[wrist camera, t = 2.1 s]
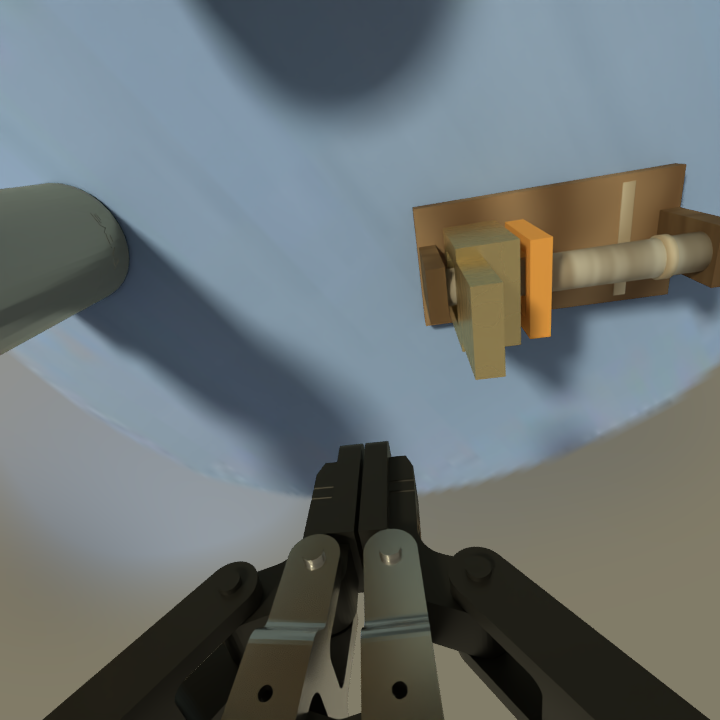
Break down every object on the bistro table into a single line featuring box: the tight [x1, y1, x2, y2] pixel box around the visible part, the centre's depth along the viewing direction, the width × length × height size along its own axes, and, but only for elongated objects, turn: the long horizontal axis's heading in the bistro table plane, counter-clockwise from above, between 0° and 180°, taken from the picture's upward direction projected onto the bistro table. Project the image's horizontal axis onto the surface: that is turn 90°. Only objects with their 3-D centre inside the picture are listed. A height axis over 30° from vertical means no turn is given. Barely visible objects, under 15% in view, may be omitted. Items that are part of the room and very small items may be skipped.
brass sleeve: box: [443, 220, 521, 380], centre depth 26 cm, size 4×6×11 cm, turn 10°
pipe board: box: [413, 163, 720, 326], centre depth 30 cm, size 18×9×8 cm, turn 100°
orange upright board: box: [505, 219, 553, 339], centre depth 28 cm, size 1×6×6 cm, turn 10°
